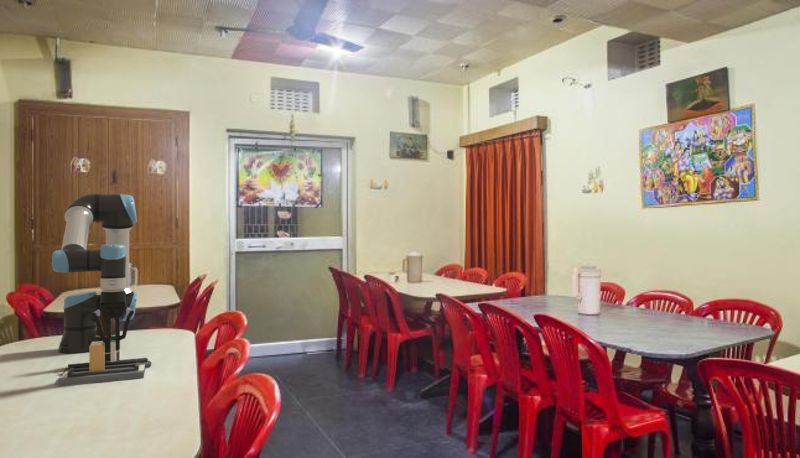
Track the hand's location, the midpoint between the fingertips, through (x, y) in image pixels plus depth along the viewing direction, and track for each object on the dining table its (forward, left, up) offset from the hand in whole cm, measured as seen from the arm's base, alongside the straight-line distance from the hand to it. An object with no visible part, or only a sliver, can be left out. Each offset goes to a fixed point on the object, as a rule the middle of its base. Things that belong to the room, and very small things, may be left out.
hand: (113, 360), depth 183 cm
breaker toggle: (0, -5, -3) cm, 6 cm away
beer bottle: (-20, -4, -6) cm, 21 cm away
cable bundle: (-10, -3, -5) cm, 12 cm away
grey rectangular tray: (0, -3, -5) cm, 6 cm away
